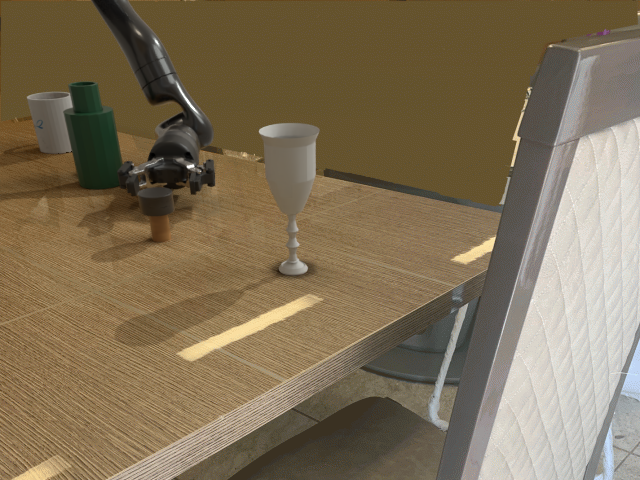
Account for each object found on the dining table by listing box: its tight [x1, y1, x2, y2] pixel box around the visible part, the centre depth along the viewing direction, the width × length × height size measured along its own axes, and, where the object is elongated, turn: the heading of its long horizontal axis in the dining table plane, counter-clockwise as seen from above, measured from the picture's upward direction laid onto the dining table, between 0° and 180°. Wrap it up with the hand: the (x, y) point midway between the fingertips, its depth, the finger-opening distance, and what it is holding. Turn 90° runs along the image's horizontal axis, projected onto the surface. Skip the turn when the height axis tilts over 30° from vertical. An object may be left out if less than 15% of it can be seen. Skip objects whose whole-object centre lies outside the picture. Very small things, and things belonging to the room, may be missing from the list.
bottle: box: [63, 80, 124, 190], centre depth 111 cm, size 8×8×16 cm
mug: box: [26, 91, 73, 155], centre depth 134 cm, size 12×9×10 cm
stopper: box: [137, 186, 175, 243], centre depth 88 cm, size 5×5×8 cm
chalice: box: [258, 122, 321, 276], centre depth 77 cm, size 7×7×18 cm
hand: (162, 188), depth 92 cm, fingers open, 8 cm apart
